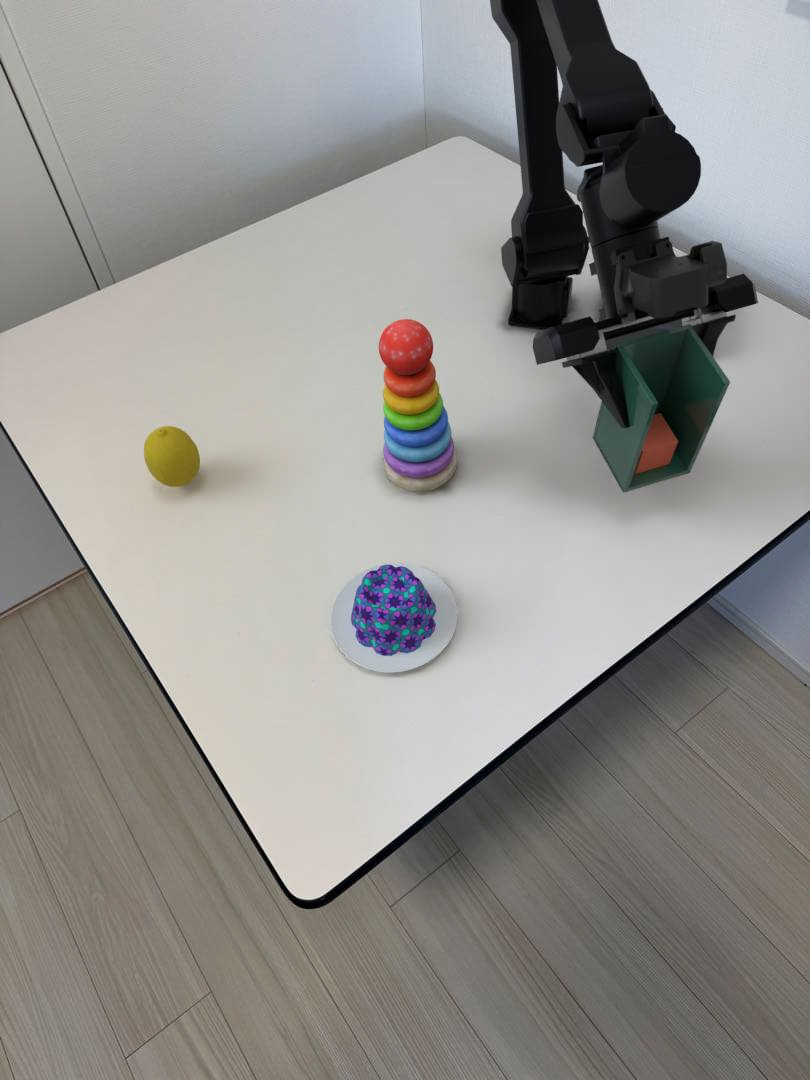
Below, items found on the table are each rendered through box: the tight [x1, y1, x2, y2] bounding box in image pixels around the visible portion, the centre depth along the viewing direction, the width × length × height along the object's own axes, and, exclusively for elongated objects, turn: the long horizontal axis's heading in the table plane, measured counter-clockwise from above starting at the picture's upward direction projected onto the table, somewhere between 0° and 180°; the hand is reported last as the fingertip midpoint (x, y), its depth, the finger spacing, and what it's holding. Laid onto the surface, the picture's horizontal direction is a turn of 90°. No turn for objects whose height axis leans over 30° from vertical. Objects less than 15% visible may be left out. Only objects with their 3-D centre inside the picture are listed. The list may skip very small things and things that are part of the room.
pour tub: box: [592, 324, 731, 494], centre depth 74 cm, size 7×7×13 cm
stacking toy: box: [378, 318, 458, 493], centre depth 81 cm, size 8×8×19 cm
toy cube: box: [634, 413, 678, 474], centre depth 77 cm, size 4×4×4 cm
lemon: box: [143, 425, 201, 488], centre depth 87 cm, size 6×6×8 cm
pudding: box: [329, 562, 459, 673], centre depth 75 cm, size 12×12×5 cm
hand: (663, 416), depth 73 cm, fingers closed on pour tub, 7 cm apart
